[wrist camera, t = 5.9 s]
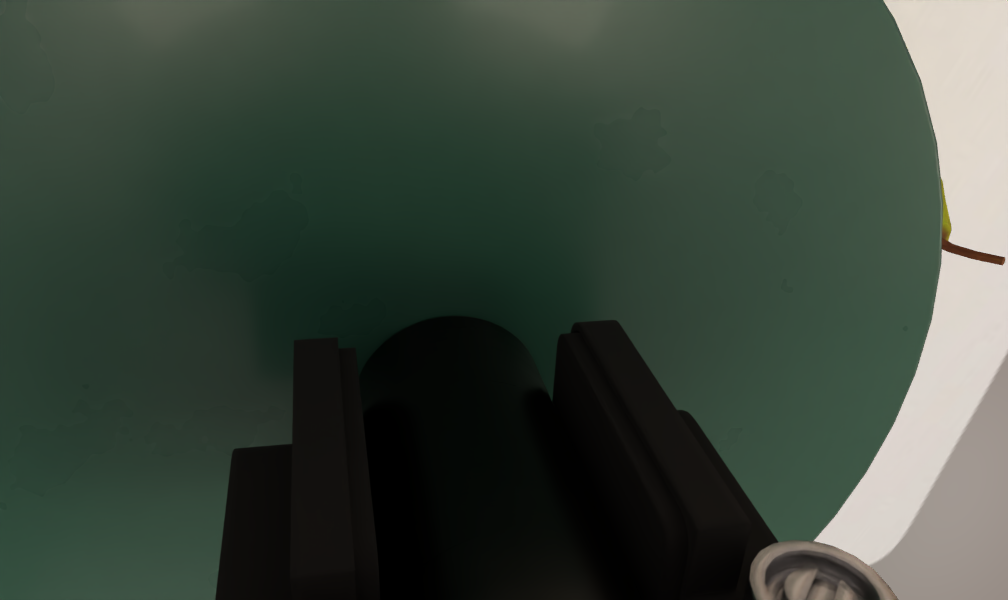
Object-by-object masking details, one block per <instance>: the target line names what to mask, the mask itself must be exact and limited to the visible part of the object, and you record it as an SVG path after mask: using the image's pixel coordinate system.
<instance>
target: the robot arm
mask: <svg viewBox="0 0 1008 600" xmlns="http://www.w3.org/2000/svg"><path fill="white" fill-rule="evenodd" d="M552 402H553V404H554V407H555V409H556V411H557V413H558V415H559V418H560V420H561V422H562V424H563V427H564V429H565V431H566V433H567V435H568V438H569V440H570V442H571V444H572V447H573V449H574V451H575V453H576V455H577V458H578V460H579V462H580V464H581V467H582V469H583V471H584V473H585V475H586V478H587V480H588V482H589V484H590V487H591V489H592V491H593V493H594V495H595V498H596V500H597V502H598V504H599V507H600V509H601V511H602V513H603V515H604V518H605V520H606V522H607V524H608V527H609V529H610V531H611V533H612V535H613V538H614V540H615V542H616V544H617V547H618V549H619V551H620V553H621V555H622V558H623V560H624V562H625V564H626V567H627V569H628V571H629V573H630V575H631V578H632V580H633V582H634V584H635V587H636V589H637V591H638V593H639V595H640V598H641V600H898V598H897V597H896V596H895V594H894V593H893V591H892V590H891V589H890V587H889V586H888V585H887V584H886V582H885V581H884V580H883V579H882V578H881V577H880V576H879V575H878V574H877V572H876V571H875V570H874V569H872V568H871V567H870V566H868V565H867V564H865V563H864V562H863V561H861V560H860V559H858V558H857V557H856V556H854V555H851V554H849V553H847V552H845V551H843V550H841V549H838V548H836V547H834V546H830V545H827V544H823V543H819V542H815V541H806V540H788V541H783V542H778V540H777V539H776V537H775V536H774V535H773V533H772V532H771V530H770V529H769V527H768V526H767V524H766V523H765V521H764V520H763V518H762V517H761V515H760V514H759V513H758V511H757V510H756V508H755V507H754V505H753V504H752V502H751V501H750V499H749V498H748V496H747V495H746V493H745V492H744V491H743V489H742V488H741V486H740V485H739V483H738V482H737V480H736V479H735V477H734V476H733V474H732V473H731V471H730V470H729V468H728V467H727V466H726V464H725V463H724V461H723V460H722V458H721V457H720V455H719V454H718V452H717V451H716V449H715V448H714V446H713V445H712V444H711V442H710V441H709V439H708V438H707V436H706V435H705V433H704V432H703V430H702V429H701V427H700V426H699V424H698V423H697V422H696V420H695V419H694V418H693V416H692V415H691V414H690V413H689V412H687V411H684V410H676V408H675V407H674V405H673V403H672V402H671V400H670V399H669V397H668V396H667V394H666V393H665V391H664V390H663V388H662V387H661V385H660V384H659V382H658V381H657V379H656V378H655V376H654V375H653V373H652V372H651V370H650V369H649V367H648V366H647V364H646V363H645V361H644V360H643V358H642V357H641V355H640V354H639V352H638V351H637V349H636V347H635V346H634V344H633V343H632V341H631V340H630V338H629V337H628V335H627V334H626V332H625V331H624V329H623V328H622V326H621V325H620V323H619V322H618V321H617V320H603V321H587V322H575V323H574V324H573V326H572V329H571V333H566V334H560V336H559V338H558V343H557V352H556V364H555V375H554V386H553V398H552ZM215 600H380V582H379V566H378V553H377V542H376V533H375V523H374V514H373V505H372V496H371V486H370V477H369V468H368V458H367V449H366V440H365V431H364V421H363V412H362V403H361V393H360V384H359V375H358V366H357V356H356V348H355V347H354V348H338V337H334V338H318V339H302V340H294V357H293V423H292V444H282V445H271V446H260V447H248V448H237V449H234V450H233V452H232V458H231V465H230V474H229V483H228V492H227V500H226V509H225V518H224V527H223V535H222V544H221V553H220V562H219V571H218V579H217V588H216V597H215Z"/></svg>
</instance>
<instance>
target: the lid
mask: <svg viewBox="0 0 1008 600" xmlns="http://www.w3.org/2000/svg"><path fill="white" fill-rule="evenodd" d="M942 225H943V197H942V187H941V177H940V168H939V158H938V149H937V141H936V137H935V134H934V130H933V126H932V122H931V118H930V114H929V110H928V106H927V102H926V98H925V95H924V91H923V87H922V83H921V80H920V77H919V75H918V73H917V70H916V68H915V66H914V63H913V61H912V59H911V56H910V54H909V52H908V49H907V47H906V45H905V42H904V40H903V38H902V35H901V33H900V31H899V28H898V26H897V24H896V21H895V19H894V17H893V16H892V14H891V12H890V11H889V9H888V8H887V6H886V5H885V3H884V1H883V0H0V600H215V597H216V588H217V579H218V571H219V562H220V553H221V544H222V535H223V527H224V518H225V509H226V500H227V492H228V483H229V474H230V465H231V458H232V452H233V450H234V449H237V448H248V447H260V446H271V445H282V444H292V423H293V357H294V340H302V339H318V338H334V337H338V348H354V347H355V348H356V356H357V366H358V375H359V384H360V393H361V403H362V412H363V421H364V431H365V440H366V449H367V458H368V468H369V477H370V486H371V496H372V505H373V514H374V523H375V533H376V542H377V553H378V566H379V582H380V600H641V598H640V595H639V593H638V591H637V589H636V587H635V584H634V582H633V580H632V578H631V575H630V573H629V571H628V569H627V567H626V564H625V562H624V560H623V558H622V555H621V553H620V551H619V549H618V547H617V544H616V542H615V540H614V538H613V535H612V533H611V531H610V529H609V527H608V524H607V522H606V520H605V518H604V515H603V513H602V511H601V509H600V507H599V504H598V502H597V500H596V498H595V495H594V493H593V491H592V489H591V487H590V484H589V482H588V480H587V478H586V475H585V473H584V471H583V469H582V467H581V464H580V462H579V460H578V458H577V455H576V453H575V451H574V449H573V447H572V444H571V442H570V440H569V438H568V435H567V433H566V431H565V429H564V427H563V424H562V422H561V420H560V418H559V415H558V413H557V411H556V409H555V407H554V404H553V402H552V398H553V386H554V375H555V364H556V352H557V343H558V338H559V336H560V334H566V333H571V329H572V326H573V324H574V323H575V322H587V321H603V320H617V321H618V322H619V323H620V325H621V326H622V328H623V329H624V331H625V332H626V334H627V335H628V337H629V338H630V340H631V341H632V343H633V344H634V346H635V347H636V349H637V351H638V352H639V354H640V355H641V357H642V358H643V360H644V361H645V363H646V364H647V366H648V367H649V369H650V370H651V372H652V373H653V375H654V376H655V378H656V379H657V381H658V382H659V384H660V385H661V387H662V388H663V390H664V391H665V393H666V394H667V396H668V397H669V399H670V400H671V402H672V403H673V405H674V407H675V408H676V410H684V411H687V412H689V413H690V414H691V415H692V416H693V418H694V419H695V420H696V422H697V423H698V424H699V426H700V427H701V429H702V430H703V432H704V433H705V435H706V436H707V438H708V439H709V441H710V442H711V444H712V445H713V446H714V448H715V449H716V451H717V452H718V454H719V455H720V457H721V458H722V460H723V461H724V463H725V464H726V466H727V467H728V468H729V470H730V471H731V473H732V474H733V476H734V477H735V479H736V480H737V482H738V483H739V485H740V486H741V488H742V489H743V491H744V492H745V493H746V495H747V496H748V498H749V499H750V501H751V502H752V504H753V505H754V507H755V508H756V510H757V511H758V513H759V514H760V515H761V517H762V518H763V520H764V521H765V523H766V524H767V526H768V527H769V529H770V530H771V532H772V533H773V535H774V536H775V537H776V539H777V540H778V542H783V541H788V540H806V541H814V540H815V538H816V537H817V536H818V535H819V534H820V533H821V532H822V530H823V529H824V528H825V527H826V526H827V525H828V524H829V522H830V521H831V520H832V519H833V518H834V517H835V515H836V514H837V513H838V511H839V510H840V508H841V507H842V506H843V504H844V503H845V501H846V500H847V499H848V497H849V496H850V494H851V493H852V492H853V490H854V489H855V487H856V486H857V485H858V483H859V482H860V480H861V479H862V478H863V476H864V475H865V473H866V472H867V470H868V468H869V467H870V465H871V463H872V461H873V460H874V458H875V456H876V454H877V453H878V451H879V449H880V447H881V446H882V444H883V442H884V440H885V439H886V437H887V435H888V433H889V432H890V430H891V428H892V426H893V424H894V422H895V420H896V418H897V415H898V413H899V411H900V408H901V406H902V404H903V401H904V399H905V397H906V394H907V392H908V390H909V387H910V385H911V383H912V381H913V378H914V376H915V373H916V370H917V367H918V363H919V360H920V357H921V353H922V350H923V347H924V343H925V340H926V337H927V333H928V330H929V327H930V323H931V320H932V314H933V308H934V302H935V297H936V291H937V285H938V279H939V273H940V267H941V253H942Z"/></svg>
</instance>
